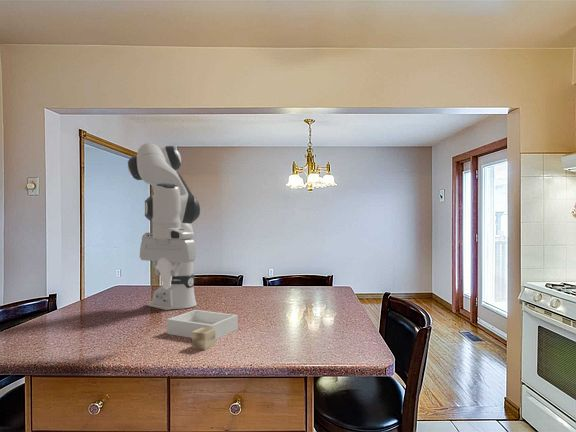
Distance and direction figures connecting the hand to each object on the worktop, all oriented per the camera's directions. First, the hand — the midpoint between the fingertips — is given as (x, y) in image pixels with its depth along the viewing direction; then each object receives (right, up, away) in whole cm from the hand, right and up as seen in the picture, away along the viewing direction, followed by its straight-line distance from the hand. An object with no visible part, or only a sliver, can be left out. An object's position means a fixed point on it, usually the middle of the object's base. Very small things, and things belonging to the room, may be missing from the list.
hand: (166, 275), depth 123 cm
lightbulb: (0, -5, 0) cm, 5 cm away
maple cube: (+13, -21, -6) cm, 26 cm away
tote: (+10, -21, +9) cm, 25 cm away
